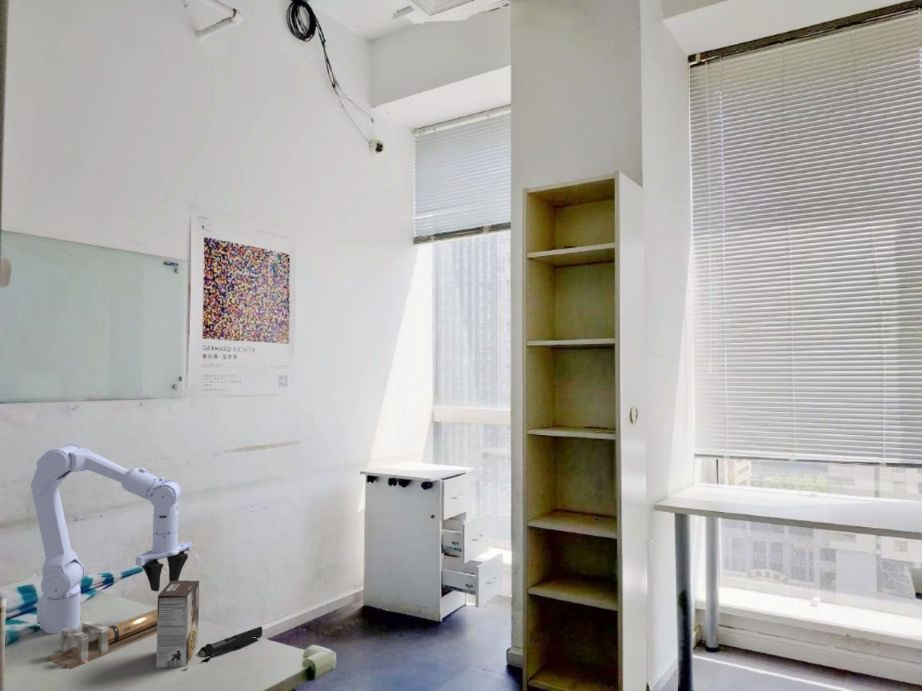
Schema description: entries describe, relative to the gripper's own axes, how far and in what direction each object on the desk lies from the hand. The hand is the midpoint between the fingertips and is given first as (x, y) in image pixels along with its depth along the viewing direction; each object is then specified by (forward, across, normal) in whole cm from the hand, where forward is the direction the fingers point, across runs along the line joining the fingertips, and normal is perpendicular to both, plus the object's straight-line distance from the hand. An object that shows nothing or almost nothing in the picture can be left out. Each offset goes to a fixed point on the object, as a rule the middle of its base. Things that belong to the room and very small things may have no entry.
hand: (164, 587), depth 159 cm
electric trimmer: (+10, -1, -24) cm, 26 cm away
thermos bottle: (+8, -8, 0) cm, 12 cm away
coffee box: (+10, -11, -19) cm, 24 cm away
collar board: (+9, -12, 0) cm, 15 cm away
